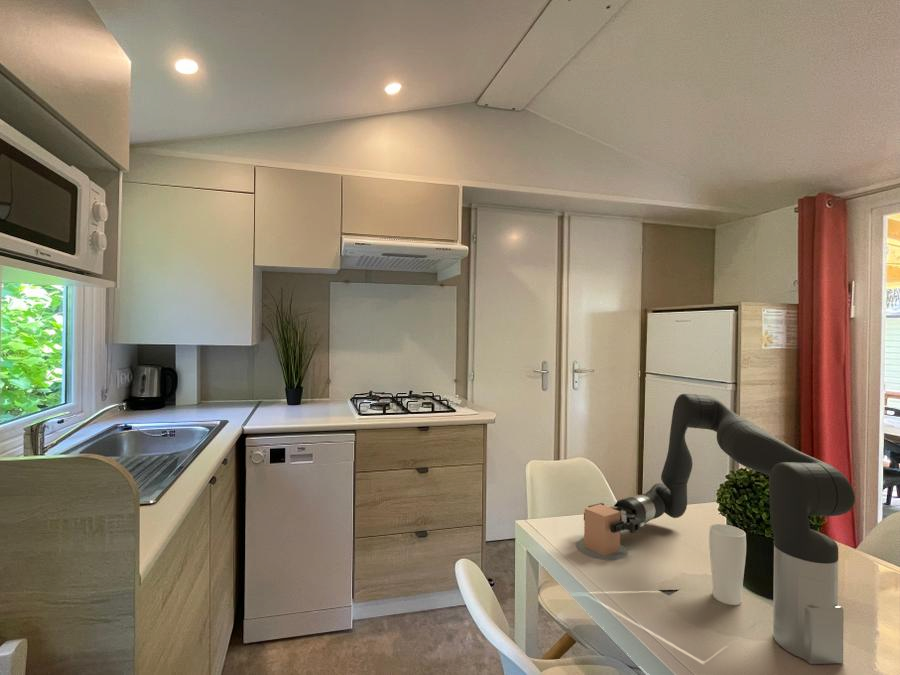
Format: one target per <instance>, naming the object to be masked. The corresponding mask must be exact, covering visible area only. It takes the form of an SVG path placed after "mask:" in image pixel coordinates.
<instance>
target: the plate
mask: <svg viewBox="0 0 900 675" xmlns="http://www.w3.org/2000/svg"><path fill="white" fill-rule="evenodd" d="M575 546H576V548H577V550H578V551H579V552H581V553H582V554H583V555H585V556H587V557H591V558H593V559H598V560H601V561H602V560H603V561H619V560H623V559H625V558H627V557H628V555H629V551H628V548H626V547H625V546H624V545H622V544H621V543H620V550H619V551H616V552H614V553H611V554H609V555H606V556H603V555H601V554H599V553H597V552H595V551H593V550H591V549H589V548H587V547H584V538H581V539H579V540H578V541H576V544H575Z"/></svg>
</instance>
